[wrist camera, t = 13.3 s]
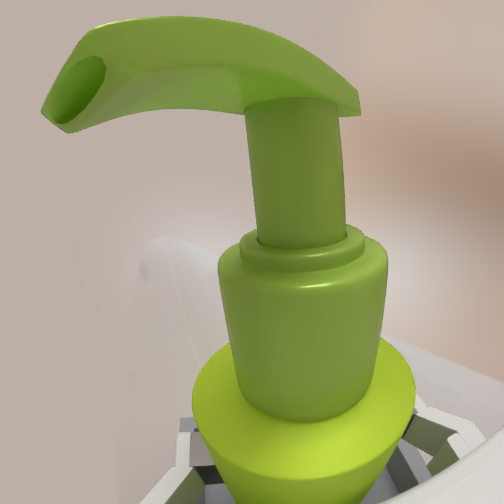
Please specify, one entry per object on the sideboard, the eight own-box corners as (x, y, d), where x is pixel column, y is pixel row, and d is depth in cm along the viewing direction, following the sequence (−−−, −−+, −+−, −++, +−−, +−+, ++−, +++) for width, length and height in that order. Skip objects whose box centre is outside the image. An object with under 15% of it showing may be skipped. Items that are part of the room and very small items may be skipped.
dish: (436, 544, 5) (464, 531, 4) (198, 602, 4) (177, 604, 3) (366, 411, 18) (374, 382, 17) (193, 443, 17) (180, 417, 16)
